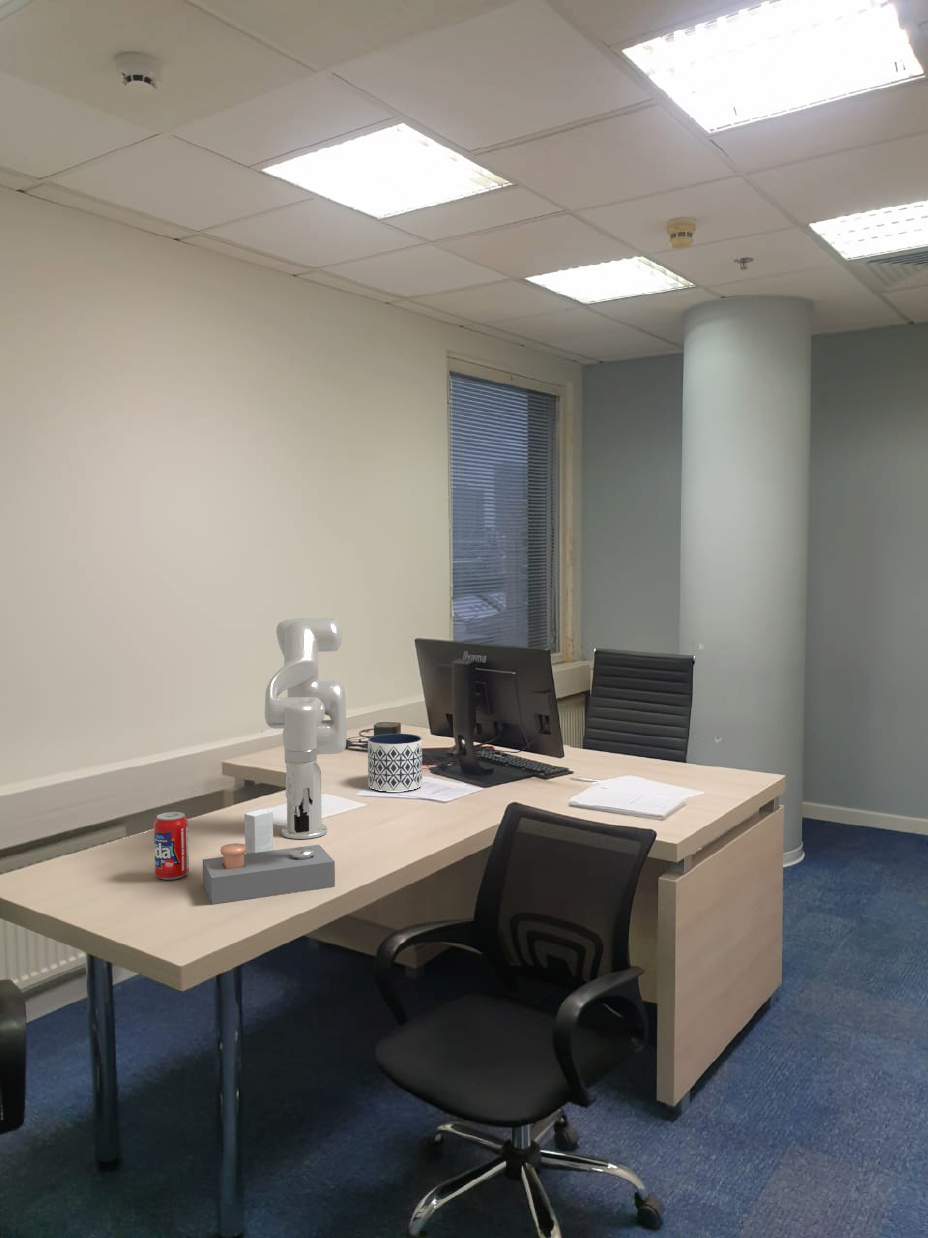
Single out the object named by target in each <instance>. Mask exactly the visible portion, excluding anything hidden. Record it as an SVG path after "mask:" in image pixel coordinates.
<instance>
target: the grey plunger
mask: <svg viewBox="0 0 928 1238" xmlns="http://www.w3.org/2000/svg"><path fill="white" fill-rule="evenodd" d="M298 847H299V848H297V847H293V848H294V849H292V850H290V857H291V858H293V859H294V860H299V859H308V858H312V857H313V856H314V849H312V848H309V847H304V846H298Z"/></svg>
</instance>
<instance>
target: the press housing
mask: <svg viewBox="0 0 928 1238" xmlns="http://www.w3.org/2000/svg"><path fill="white" fill-rule="evenodd" d="M299 847H300V846H296V848H299ZM303 847H309V848H312V849H314V856H313V857H312V858H308V859H299V860H294V859H293V858H291V857H290V850H292V849H294V848H295V847H290V848H289V847H288V848H283V849H274V850H273V851H265V852H257V853H249V854H246V853H244V867H239V868H232V869H225V868H224V866H223V856H220V857H211V858H204V859H202V885H203V887H204V889H205V892H206V894H207V896H208V898H209V900H210V903H211V905H213V906H214V905H219V904H226V903H232V902H238V901H239V900H240V901H246V900H253V898H254V899H260V898H267V897H272V896H271V895H274V896H279V895H278V894H281V895H286V894H285V893H288V894H292V893H291V892H294V893H299V892H298V891H301V892H307V891H306V890H308V891H313V890H312V889H315V890H319V889H318V888H322V889H326V888H325V887H329V888H334V886H335V887H336V874H335V873H336V869H335V868H336V867H335V866H336V863H335V862H336V861H335V860H334V858H332V856H331V855H329V853H328V852H327V851H326V850H325V849H324V848H323V847H322V846H321V845H320V844H315V845H313V844H312V845H305V846H303ZM266 896H267V897H266ZM259 897H260V898H259Z"/></svg>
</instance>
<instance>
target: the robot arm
mask: <svg viewBox="0 0 928 1238" xmlns="http://www.w3.org/2000/svg"><path fill="white" fill-rule="evenodd" d="M276 638H277V642H278V645H279V648H280V650H281V653H282V656H283V658H284V660H283V661H284V665H283V666H282V667H281V668H280V669H278V670H277V672H276V673H274V675H273V676H272V677H271V679H270V680H269V682H268V684H267V686H266V690H265V696H264V698H265V700H264V720H265V723H266V724H267V726H268V727H269V728H272V729H277V730H279V729H281V730H282V729H283V730H282V743H283V750H284V763H285V770H286V771H285V772H286V773H285V797H286V825H285V826H284V827H283V828H282V829H281V835H282V836H283V837H285V838H288V839H292V840H293V839H294V840H306V839H314V838H319V837H321V836H324V835H326V834H327V833H328V827H327V825H325V824H323V823H322V821H323V820H322V814H323V813H322V770H321V767H320V765H319V764H318V763H317V762H318V755H336V754H340V753H343V752H344V750H346V747H347V706H346V705H347V703H346V692H345V689H344V686H343V684H342V683H341V682H340V681H335V680H319V658H318V657H319V653H320V652H321V653H322V652H325V653H327V652H337V651H339V649H340V648H341V645H342V638H343V637H342V629H341V625H340V623H339V620H338V619H336V618H291V619H284V620H281V621H280V622H279V623H278V624H277V626H276ZM318 652H319V653H318ZM284 691H287V693H286V694H287V697H279V696H280V695H281V694H282V693H284ZM325 716H328V717H329V719H325Z"/></svg>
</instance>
